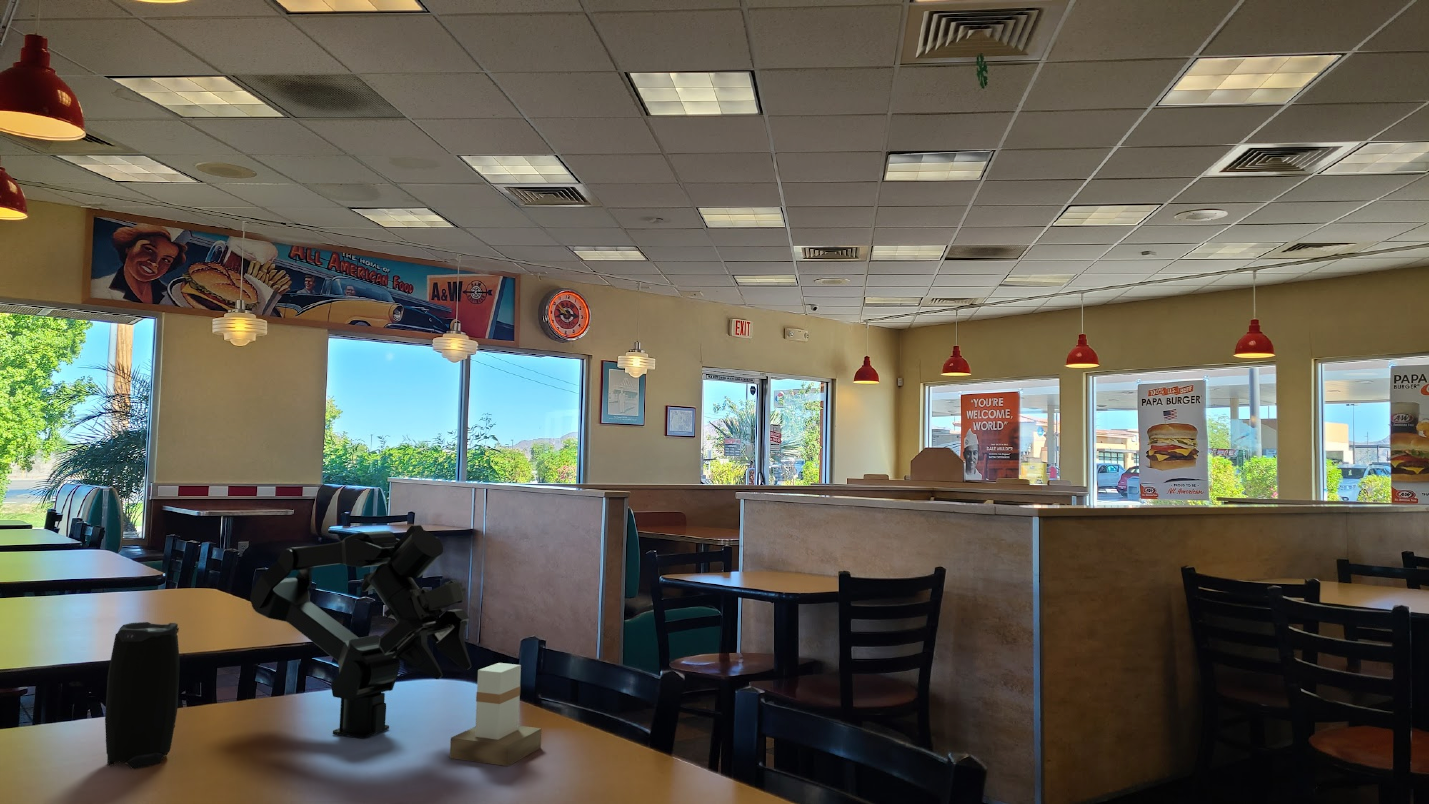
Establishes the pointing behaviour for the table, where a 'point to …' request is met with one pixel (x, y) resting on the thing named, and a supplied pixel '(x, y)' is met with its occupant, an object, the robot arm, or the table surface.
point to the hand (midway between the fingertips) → (455, 672)
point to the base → (496, 746)
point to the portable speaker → (142, 694)
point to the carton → (497, 700)
